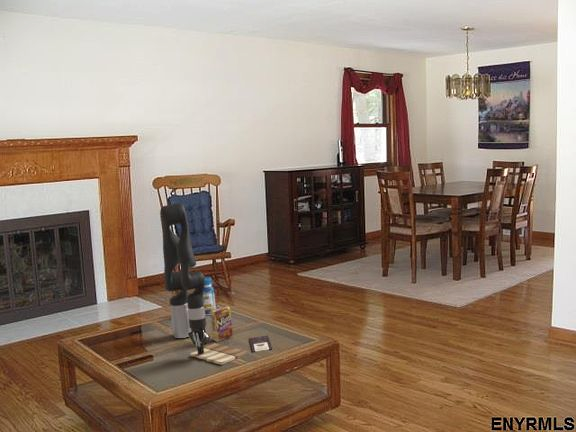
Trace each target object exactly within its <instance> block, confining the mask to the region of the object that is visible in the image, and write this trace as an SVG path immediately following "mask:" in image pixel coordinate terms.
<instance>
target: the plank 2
mask: <svg viewBox="0 0 576 432" xmlns="http://www.w3.org/2000/svg"><path fill="white" fill-rule="evenodd" d="M234 360H236V358H235V356H232V355H228V354H224V353H221V352H219V353H217V354H215V355H212V356H210V357H208V358H206V362H210V363H213V364H217V365H220V366H223V365H225V364H227V363H230V362H231V361H234Z"/></svg>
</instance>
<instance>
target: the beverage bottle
mask: <svg viewBox="0 0 576 432" xmlns="http://www.w3.org/2000/svg"><path fill="white" fill-rule="evenodd" d="M212 284H213V283H212V278H211V277H205V287H204V293H203V303H204V309H205V316H211V310H214V309H217V308H216V307H217V306H216V299H215V295H216V294H215V292H214V291H215V289H214V287H213V285H212Z"/></svg>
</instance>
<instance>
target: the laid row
mask: <svg viewBox="0 0 576 432" xmlns="http://www.w3.org/2000/svg"><path fill="white" fill-rule="evenodd" d="M204 348H206V349H209V350H213V351H217V352H218V353H219V352H221V353H224V354H228V355H232V356H235V360H237V359H240V358H242V357H244V356H246V355H248V351H247V350H244V349H239V348H235V347H231V346H227V345H223V344H220V343H217V342H216V343H215V342H214V343H212V344H210V345H207V346H205V347H204Z"/></svg>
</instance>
